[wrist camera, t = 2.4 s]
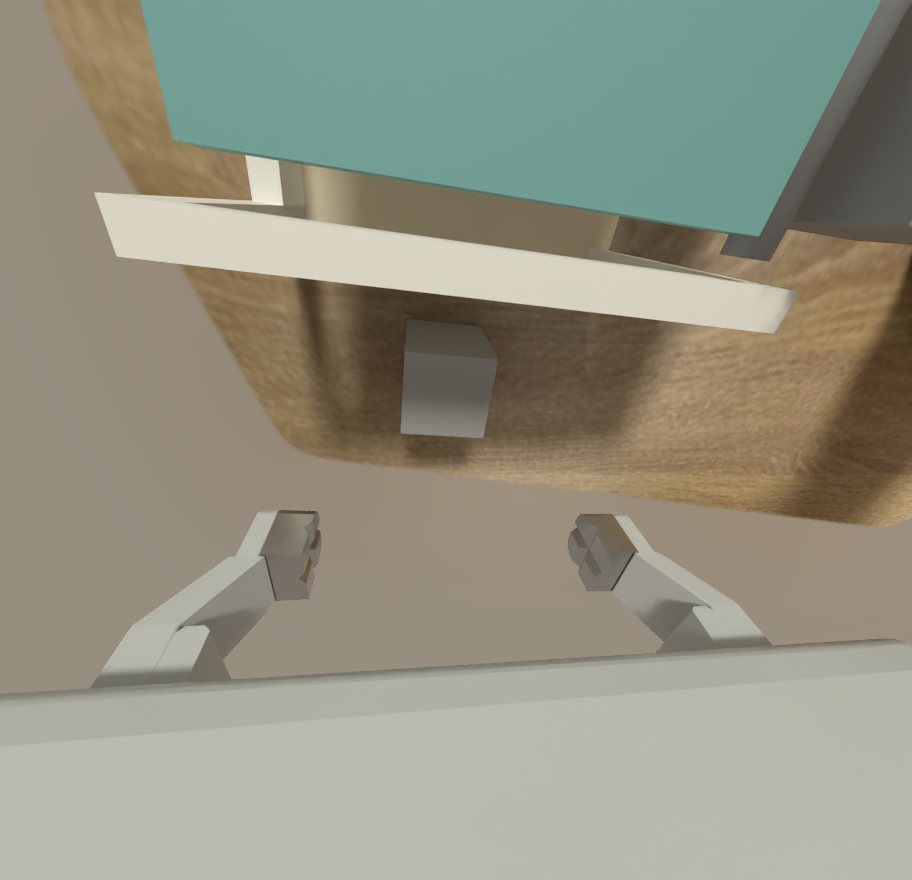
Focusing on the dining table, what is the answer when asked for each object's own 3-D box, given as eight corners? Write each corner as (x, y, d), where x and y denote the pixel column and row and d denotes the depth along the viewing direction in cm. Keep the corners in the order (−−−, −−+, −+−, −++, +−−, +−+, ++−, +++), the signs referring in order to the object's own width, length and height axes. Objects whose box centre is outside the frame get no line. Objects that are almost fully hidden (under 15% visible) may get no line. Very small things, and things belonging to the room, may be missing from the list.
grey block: (480, 326, 22) (498, 359, 17) (469, 391, 25) (483, 438, 20) (407, 318, 21) (404, 351, 16) (403, 386, 24) (400, 433, 19)
